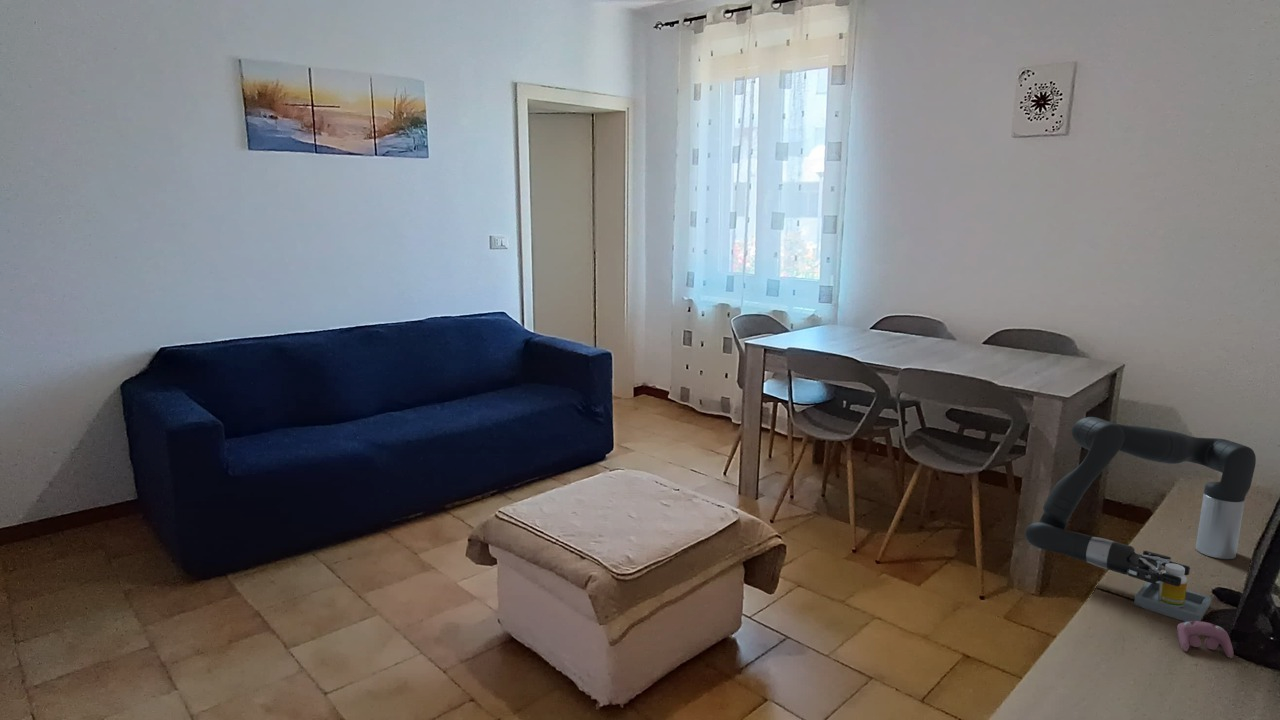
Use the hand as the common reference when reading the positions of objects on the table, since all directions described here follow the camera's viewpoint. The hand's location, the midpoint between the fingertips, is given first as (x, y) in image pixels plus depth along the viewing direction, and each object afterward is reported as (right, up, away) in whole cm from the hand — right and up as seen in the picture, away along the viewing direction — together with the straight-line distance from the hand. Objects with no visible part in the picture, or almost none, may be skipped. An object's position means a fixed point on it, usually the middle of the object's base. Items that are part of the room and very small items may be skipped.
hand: (1185, 576), depth 179 cm
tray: (-1, -8, +3) cm, 9 cm away
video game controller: (-8, -12, -15) cm, 21 cm away
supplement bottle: (-1, -8, +3) cm, 8 cm away
